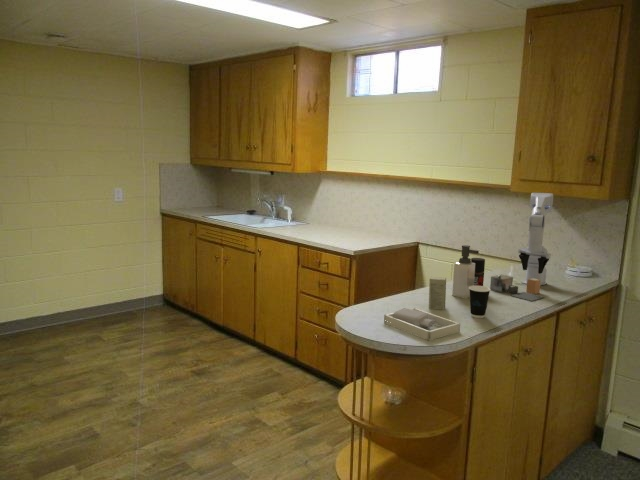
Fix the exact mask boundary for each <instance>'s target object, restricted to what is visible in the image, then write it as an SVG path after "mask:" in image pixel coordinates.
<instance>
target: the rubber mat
mask: <svg viewBox="0 0 640 480" xmlns="http://www.w3.org/2000/svg"><path fill="white" fill-rule="evenodd" d="M510 297H511V298H512V297H513V298H516V299H519V300H525V301H528V302H535V301H540V300H543V299H545V298H546V297H545V296H541V295H538V294H531V293H527V292H526V291H522V292H518V294H511V295H510Z"/></svg>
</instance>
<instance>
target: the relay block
mask: <svg viewBox="0 0 640 480" xmlns="http://www.w3.org/2000/svg"><path fill="white" fill-rule="evenodd" d="M540 282H541V280H538V279H534V278H531V279H527V284H526V291H525V292H526V293H530V294H534V295H538V294H540V291H541V285H540Z"/></svg>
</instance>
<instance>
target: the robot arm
mask: <svg viewBox="0 0 640 480" xmlns="http://www.w3.org/2000/svg"><path fill="white" fill-rule="evenodd" d="M529 203H530V209H531V215H529V218H528V231H529V233H528V242H527V247H526V248H518V251H517V252H518V258H519V260H520V261H521V266H522V270H523V271H526V273H525V280H523V281H521V284H525V285H527V279H531V278H534V279H538V280H541V282H540V286H543V285H547V284H548V282H546V280H547V268H546V265H547V263H548V262H549V261H550V259H551V257H552V256H551V253H548V250H547V248H546V247H545V246H543V238H544V230H545V227H546V217H547V214H548V213H551V212H552V210H553V204H554V194H553V193H552V192H551V193H548V192H532V193H531V194H530V202H529Z"/></svg>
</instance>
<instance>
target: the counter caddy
mask: <svg viewBox="0 0 640 480" xmlns="http://www.w3.org/2000/svg"><path fill="white" fill-rule="evenodd" d="M410 309H411V310H416V311H420V312H425V313H427V314H428V319H431V320H434V321H435V323H437V324H438V326H440V327H438V328H434V329H432V330H428V329H425V328H424V327H422V328H420V327H418V326H415V325H412V324H410V323H407V322H404V321H402V320H399V319H396V318H394V317H393V314H394V312H391V313H387V314H384V315H383V324H386V325H389V326H391V327H394V328H396V329H399V330H401V331H404V332H406V333H409V334H411V335H414V336H417V337H419V338H420V339H424V340H427V341H428V342H429V341H432V340H436V339H439V338H442V337H446V336H451V335H453V334H457V333H460V332H461V323H459V322H456V321H454V320H450V319H448V318H445V317H442V316H439V315H437V314H434V313H430V312H427V311H425V310H422V309H419V308H416V307H414V308H413V307H412V308H410ZM385 320H386V321H385ZM387 321H388V322H387ZM390 322H391V323H390Z"/></svg>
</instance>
